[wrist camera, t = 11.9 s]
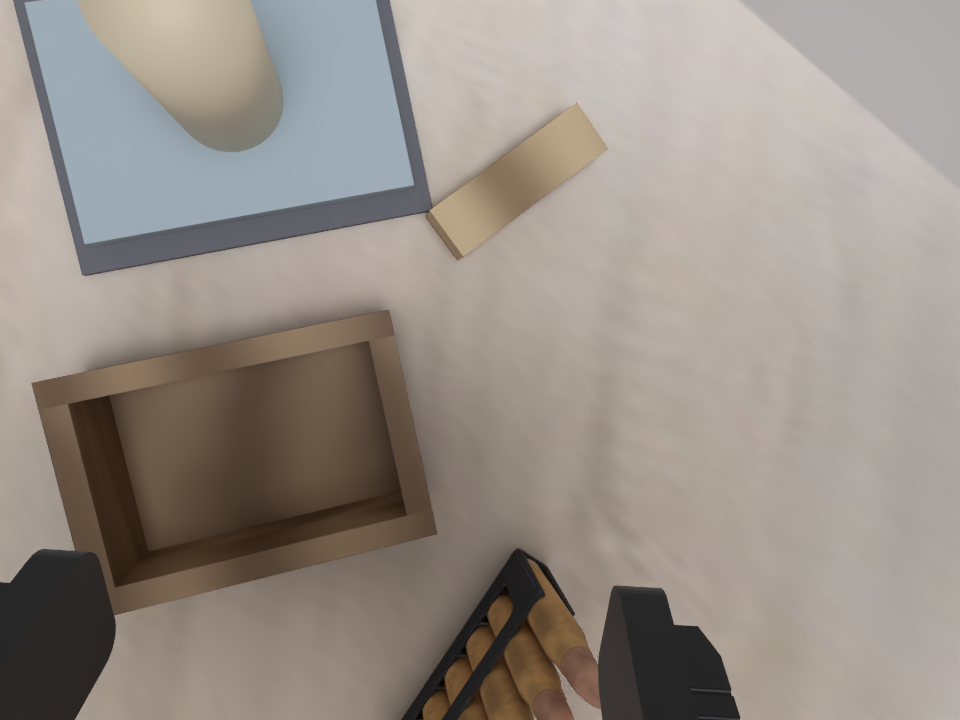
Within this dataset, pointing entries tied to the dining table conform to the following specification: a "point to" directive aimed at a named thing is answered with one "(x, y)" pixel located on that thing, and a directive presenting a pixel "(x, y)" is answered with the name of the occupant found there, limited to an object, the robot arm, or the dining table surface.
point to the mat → (248, 229)
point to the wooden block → (516, 181)
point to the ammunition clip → (513, 654)
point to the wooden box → (238, 459)
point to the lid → (217, 109)
